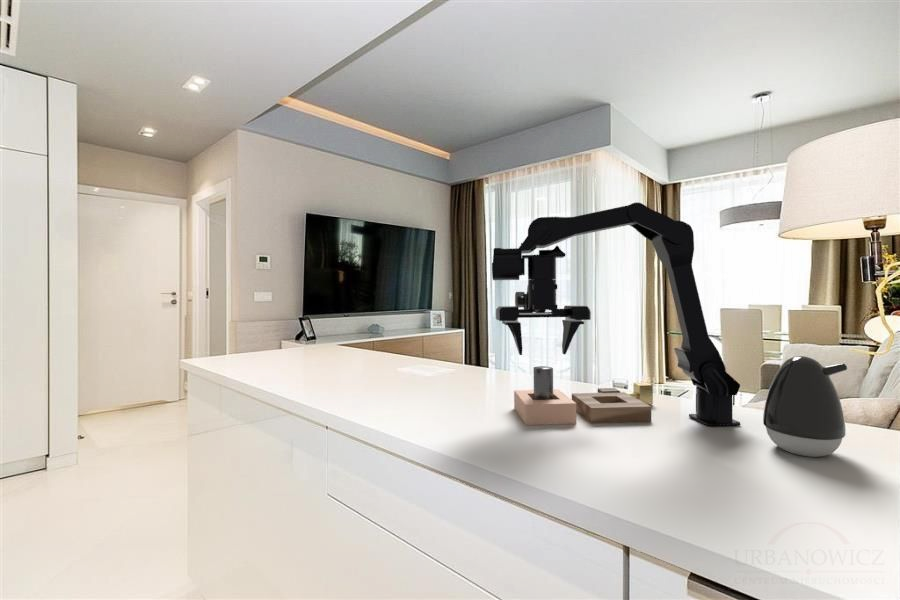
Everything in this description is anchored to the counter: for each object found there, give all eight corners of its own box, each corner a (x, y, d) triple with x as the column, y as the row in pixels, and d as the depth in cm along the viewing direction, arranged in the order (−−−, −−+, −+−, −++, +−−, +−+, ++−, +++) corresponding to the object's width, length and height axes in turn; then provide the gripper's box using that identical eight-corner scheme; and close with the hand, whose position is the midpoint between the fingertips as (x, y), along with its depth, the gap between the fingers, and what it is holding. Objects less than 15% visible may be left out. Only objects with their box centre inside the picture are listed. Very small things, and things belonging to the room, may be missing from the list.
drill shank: (555, 418, 89) (555, 369, 88) (536, 418, 89) (536, 369, 88) (550, 412, 93) (550, 366, 92) (532, 413, 93) (531, 366, 92)
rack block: (576, 423, 85) (576, 403, 85) (525, 424, 84) (525, 404, 84) (558, 407, 97) (558, 389, 97) (514, 408, 96) (514, 390, 96)
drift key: (652, 404, 97) (652, 385, 97) (604, 405, 97) (604, 386, 97) (646, 400, 100) (646, 382, 100) (599, 401, 100) (599, 383, 100)
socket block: (651, 421, 85) (651, 404, 85) (591, 423, 85) (591, 406, 85) (619, 402, 100) (618, 388, 100) (567, 403, 100) (567, 389, 100)
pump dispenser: (855, 469, 62) (856, 363, 62) (765, 455, 67) (766, 358, 67) (838, 446, 71) (839, 354, 70) (760, 436, 76) (760, 350, 76)
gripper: (573, 280, 98) (573, 348, 99) (492, 281, 98) (492, 349, 98) (591, 279, 87) (591, 356, 88) (499, 279, 86) (500, 357, 87)
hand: (542, 354), depth 90 cm, fingers open, 9 cm apart
